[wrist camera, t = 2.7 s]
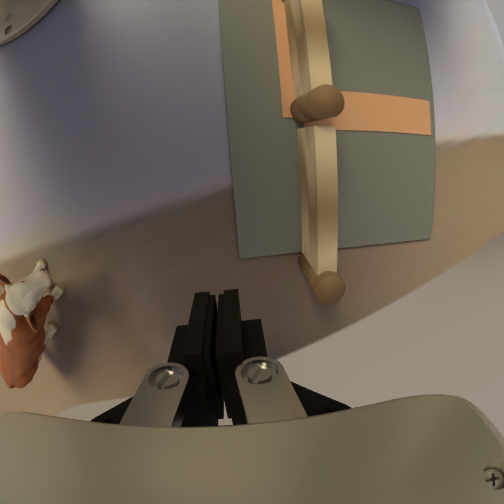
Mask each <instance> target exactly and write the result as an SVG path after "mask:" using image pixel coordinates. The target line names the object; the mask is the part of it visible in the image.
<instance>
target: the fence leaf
mask: <svg viewBox="0 0 504 504" xmlns="http://www.w3.org/2000/svg"><path fill="white" fill-rule="evenodd" d="M297 138H298V154H299V173H300V196H301V226H302V253H301V254H300V256H299V258H298V264H299V266H300V268H301V270H302V271H303V273H304V275H305V277H306V279H307V280H308V282H309V284H310V286H311V287H312V289H313V291H314V293H315V294H316V296H317V298H318V300H319V301H320V302H322V303H324V304H332V303H335V302H337V301H338V300H340V299H341V298H342V296H343V295H344V292H345V283H344V282H343V280H342V279H341V278H340V276H339V275H338V274H337V249H338V175H337V146H336V127H335V126H312V127H305V128H299V129H297Z"/></svg>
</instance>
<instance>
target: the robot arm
mask: <svg viewBox="0 0 504 504" xmlns="http://www.w3.org/2000/svg"><path fill="white" fill-rule="evenodd" d="M57 1H58V0H0V45H1V44H5V43H7V42H9V41H11V40H13V39H15V38H17V37H18V36H20V35H21V34H23V33H24V32H26V31H27V30H28V29H29V28H31V27H32V26H33V25H34V24H36V23H37V22H38V21H39V20H40V19H41V18H42V17H43V16H44V15H45V14H46V13H47V12H48V11H49V10H50V9H51V8H52V7H53V6H54V5H55V4H56V2H57ZM224 401H225V406H226V411H227V416H228V418H232V422H233V425H225V426H218V419H223V418H224ZM0 504H504V437H503V436H502V434H501V433H500V432H499V430H498V429H497V428H496V427H495V426H494V424H493V423H492V422H491V421H490V420H489V418H488V417H486V415H485V414H484V413H483V412H482V411H481V410H480V409H478V408H477V407H476V406H475V405H474V404H472V403H471V402H469V401H468V400H466V399H464V398H461V397H458V396H453V395H444V394H435V395H418V396H409V397H404V398H398V399H393V400H388V401H384V402H380V403H376V404H371V405H366V406H361V407H356V408H351V407H349V406H347V405H345V404H343V403H341V402H338V401H336V400H333V399H331V398H328V397H326V396H323V395H321V394H318V393H316V392H314V391H311V390H309V389H307V388H305V387H302V386H300V385H298V384H295V383H293V382H291V381H290V380H289V378H288V376H287V374H286V372H285V370H284V368H283V366H282V365H281V363H280V362H278V361H277V360H275V359H273V358H270V357H267V352H266V346H265V341H264V335H263V329H262V324H261V319H256V320H246V321H241V313H240V304H239V295H238V289H233V290H224V294H219V300H218V311H217V304H216V298H215V295H210V293H209V292H199V293H195V296H194V300H193V305H192V309H191V314H190V318H189V323H188V325H182V326H177V328H176V331H175V335H174V339H173V343H172V346H171V350H170V354H169V358H168V362H167V363H163V364H159V365H157V366H154V367H153V368H151V369H150V370H149V371H148V372H147V373H146V374H145V376H144V378H143V380H142V382H141V383H140V385H139V387H138V389H137V391H136V393H135V395H134V396H133V397H131V398H129V399H128V400H126V401H124V402H122V403H121V404H119V405H117V406H115V407H114V408H112V409H110V410H108V411H106V412H104V413H103V414H101V415H99V416H97V417H95V418H94V419H92V420H91V421H83V420H76V419H69V418H61V417H55V416H48V415H42V414H36V413H27V412H5V413H0Z"/></svg>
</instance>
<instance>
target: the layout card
mask: <svg viewBox="0 0 504 504" xmlns="http://www.w3.org/2000/svg"><path fill="white" fill-rule="evenodd" d="M322 6H323V12H324V19H325V26H326V33H327V41H328V49H329V57H330V66H331V76H332V86H334V87H336V88H337V89H339V90H340V92H341V93H342V95H343V97H344V101H345V104H344V109H343V111H342V112H341V113H340V114H339V115H338V116H336V117H333V118H328V119H323V120H317V121H312V122H307V123H300V122H297V121H296V120H295V119H293V117H292V115H291V112H290V106H291V103H292V102H293V101H294V97H293V85H292V74H291V63H290V53H289V44H288V34H287V26H286V17H285V9H284V2H282V1H281V0H219V14H220V29H221V43H222V57H223V70H224V83H225V96H226V109H227V121H228V133H229V145H230V157H231V168H232V180H233V191H234V202H235V213H236V224H237V235H238V245H239V256H240V258H250V257H260V256H270V255H280V254H290V253H299V252H302V226H301V196H300V173H299V154H298V138H297V129H299V128H305V127H312V126H335V127H336V146H337V175H338V248H347V247H357V246H366V245H376V244H385V243H395V242H404V241H413V240H422V239H431V230H432V219H433V206H434V189H435V123H434V106H433V94H432V84H431V75H430V67H429V60H428V53H427V47H426V41H425V35H424V30H423V25H422V20H421V16H420V11H419V8H415V7H412V6H408V5H405V4H401V3H398V2H394V1H390V0H322Z"/></svg>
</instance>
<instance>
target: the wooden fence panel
mask: <svg viewBox="0 0 504 504" xmlns="http://www.w3.org/2000/svg"><path fill="white" fill-rule="evenodd" d="M281 1H282V2H284V9H285V17H286V26H287V34H288V44H289V53H290V63H291V74H292V85H293V97H294V101H293V102H292V103H291V106H290V112H291V115H292V117H293V119H295V120H296V121H297V122H300V123H307V122H312V121H317V120H323V119H328V118H333V117H336V116H338V115H339V114H340V113H341V112H342V111H343V109H344V104H345V101H344V97H343V95H342V93H341V92H340V90H339V89H337V88H336V87H334V86H332V76H331V66H330V57H329V49H328V41H327V33H326V26H325V19H324V12H323V6H322V0H281Z"/></svg>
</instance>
